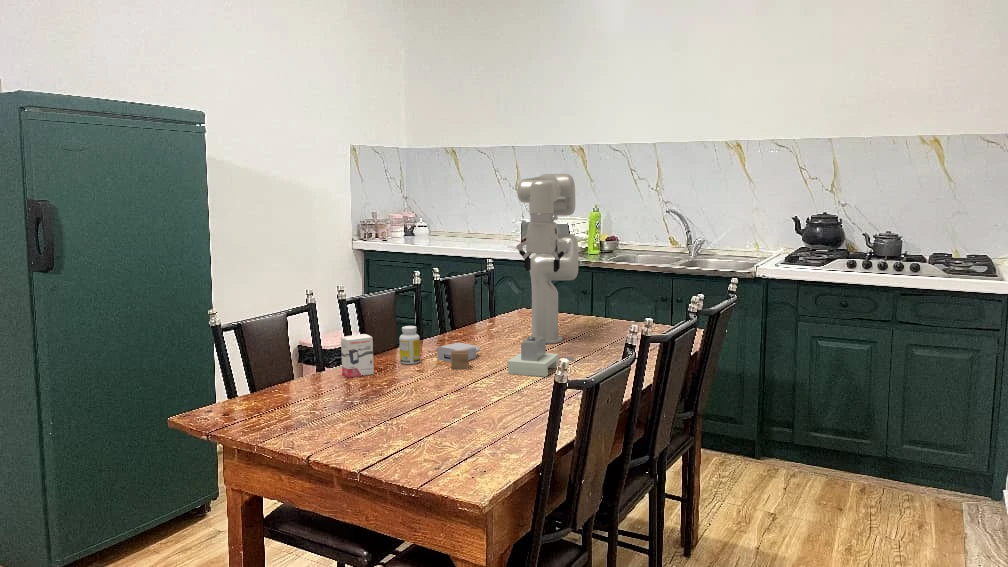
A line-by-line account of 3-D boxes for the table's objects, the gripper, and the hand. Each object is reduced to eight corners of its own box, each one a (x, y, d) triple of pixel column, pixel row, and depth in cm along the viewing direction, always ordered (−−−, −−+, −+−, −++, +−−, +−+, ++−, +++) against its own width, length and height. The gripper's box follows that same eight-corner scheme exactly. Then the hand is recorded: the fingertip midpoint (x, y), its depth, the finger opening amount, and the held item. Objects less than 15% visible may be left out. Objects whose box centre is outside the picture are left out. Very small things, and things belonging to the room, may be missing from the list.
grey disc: (560, 359, 264) (560, 356, 264) (575, 360, 262) (575, 357, 262) (557, 362, 259) (557, 359, 259) (572, 363, 258) (572, 360, 258)
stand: (522, 363, 257) (522, 351, 256) (558, 366, 253) (558, 354, 252) (507, 373, 244) (507, 361, 243) (545, 377, 240) (545, 364, 239)
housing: (530, 353, 253) (530, 333, 252) (545, 354, 251) (545, 334, 250) (521, 360, 244) (521, 338, 244) (536, 361, 243) (536, 339, 242)
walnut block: (452, 365, 255) (452, 350, 254) (468, 365, 255) (468, 350, 254) (451, 369, 250) (451, 354, 249) (467, 369, 250) (467, 353, 249)
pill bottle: (422, 360, 263) (421, 325, 261) (418, 365, 256) (417, 329, 255) (402, 360, 263) (401, 325, 262) (398, 364, 257) (397, 328, 255)
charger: (488, 356, 269) (457, 364, 257) (468, 352, 275) (437, 360, 263) (488, 342, 268) (457, 350, 257) (468, 338, 274) (437, 346, 263)
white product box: (348, 378, 241) (346, 339, 239) (341, 374, 245) (340, 336, 243) (374, 374, 245) (373, 336, 244) (367, 370, 249) (366, 333, 248)
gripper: (570, 218, 263) (570, 270, 266) (520, 218, 269) (521, 268, 272) (564, 220, 256) (563, 273, 259) (513, 219, 262) (513, 271, 265)
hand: (541, 270), depth 265 cm, fingers open, 9 cm apart
